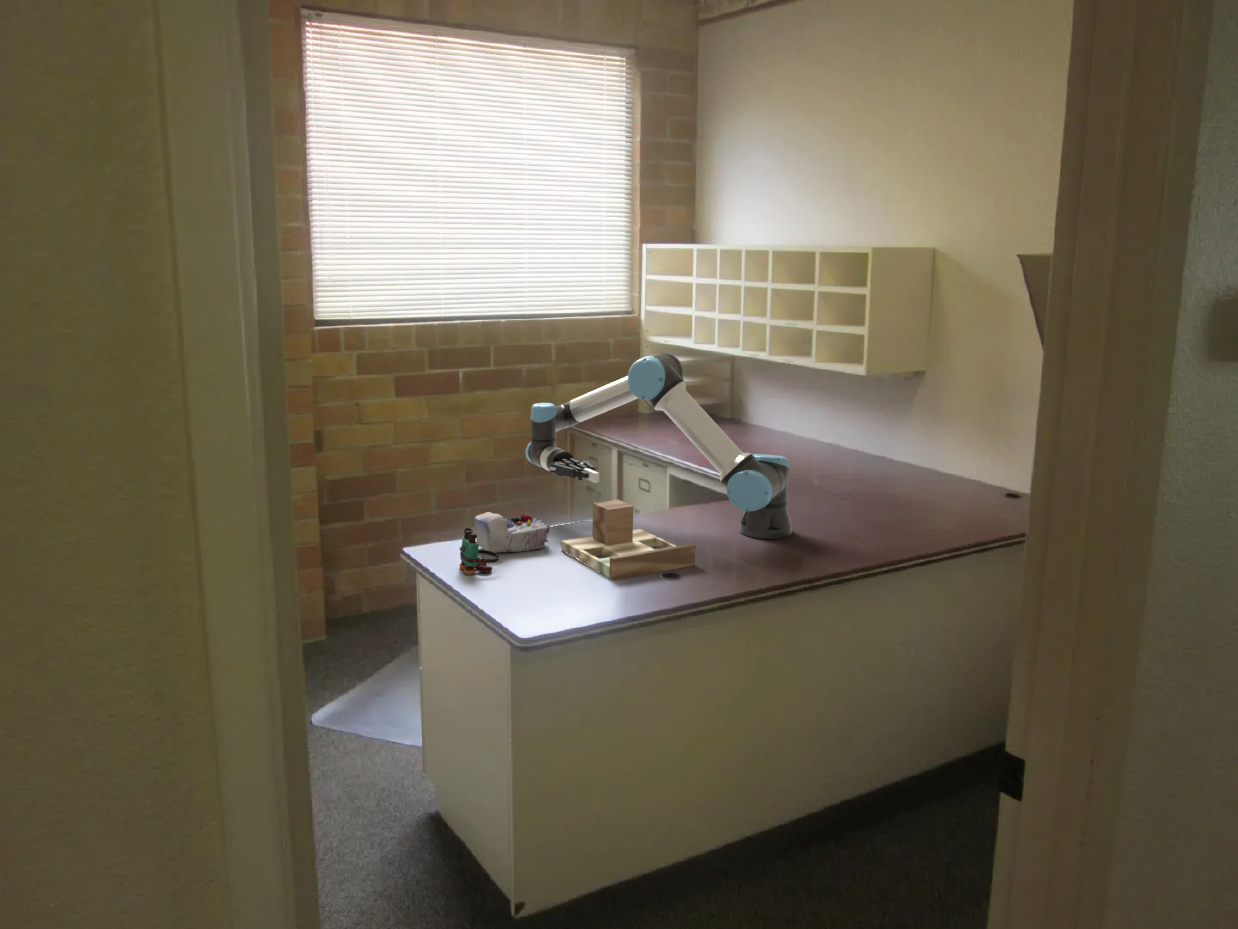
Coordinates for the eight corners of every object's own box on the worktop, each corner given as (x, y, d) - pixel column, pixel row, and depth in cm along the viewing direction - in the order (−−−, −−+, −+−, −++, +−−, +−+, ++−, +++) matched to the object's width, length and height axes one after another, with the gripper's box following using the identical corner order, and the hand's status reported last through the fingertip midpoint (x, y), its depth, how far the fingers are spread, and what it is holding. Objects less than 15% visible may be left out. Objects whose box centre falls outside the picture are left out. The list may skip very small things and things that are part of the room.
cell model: (468, 509, 272) (532, 501, 284) (468, 547, 275) (531, 538, 286) (491, 520, 262) (556, 511, 274) (491, 559, 264) (556, 549, 276)
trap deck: (561, 551, 273) (561, 531, 271) (639, 538, 285) (639, 520, 284) (612, 580, 250) (612, 559, 248) (695, 565, 262) (695, 545, 261)
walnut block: (592, 538, 275) (592, 502, 272) (617, 534, 279) (618, 499, 276) (607, 545, 268) (607, 509, 266) (632, 541, 272) (633, 506, 270)
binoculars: (504, 535, 252) (465, 535, 248) (500, 575, 254) (462, 576, 250) (494, 526, 260) (456, 526, 256) (490, 565, 262) (453, 566, 258)
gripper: (576, 471, 301) (616, 488, 281) (537, 475, 294) (575, 493, 275) (577, 447, 299) (617, 462, 279) (538, 450, 293) (576, 466, 273)
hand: (596, 477), depth 277 cm, fingers closed
